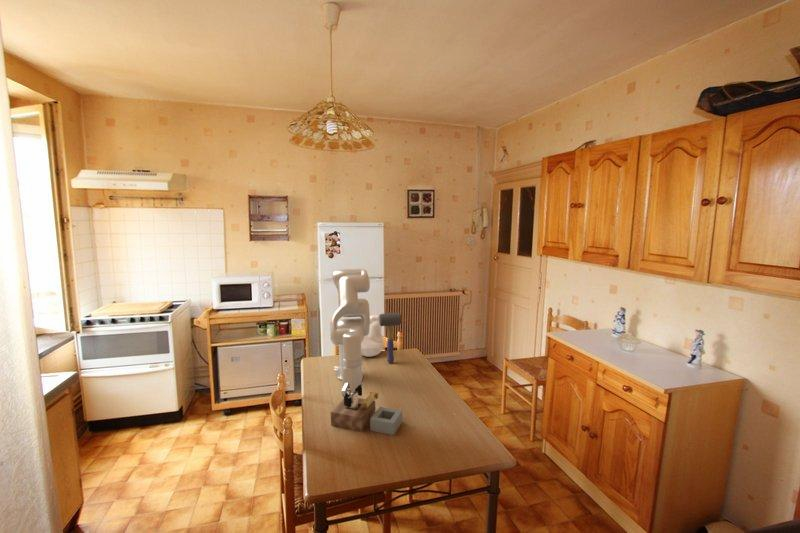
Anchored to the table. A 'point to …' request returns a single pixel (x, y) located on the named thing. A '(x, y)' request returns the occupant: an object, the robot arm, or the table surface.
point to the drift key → (370, 399)
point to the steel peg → (354, 401)
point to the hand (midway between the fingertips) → (353, 400)
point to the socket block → (352, 416)
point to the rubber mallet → (390, 330)
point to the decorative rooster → (372, 339)
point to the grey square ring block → (386, 420)
